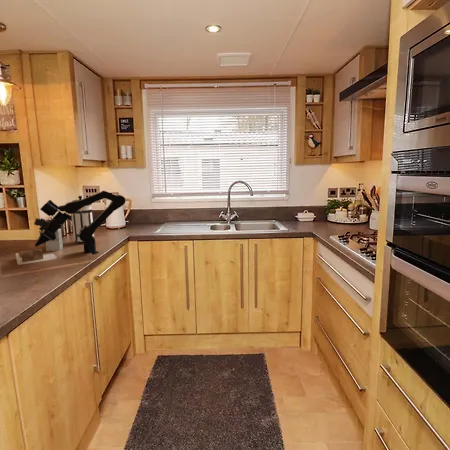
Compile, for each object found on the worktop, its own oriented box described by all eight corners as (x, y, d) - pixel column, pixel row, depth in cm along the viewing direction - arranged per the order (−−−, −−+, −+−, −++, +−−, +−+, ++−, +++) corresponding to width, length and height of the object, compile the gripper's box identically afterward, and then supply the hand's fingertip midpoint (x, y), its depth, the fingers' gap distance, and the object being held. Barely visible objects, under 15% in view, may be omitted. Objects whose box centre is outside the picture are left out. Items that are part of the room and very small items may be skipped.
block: (41, 248, 166) (20, 251, 161) (42, 250, 163) (21, 253, 158) (42, 257, 167) (21, 260, 162) (43, 258, 164) (22, 262, 158)
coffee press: (65, 244, 202) (59, 196, 197) (86, 238, 216) (82, 194, 211) (83, 246, 194) (78, 196, 189) (104, 241, 208) (100, 194, 203)
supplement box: (46, 253, 179) (43, 231, 177) (49, 250, 186) (47, 229, 184) (60, 252, 181) (58, 230, 179) (63, 249, 188) (61, 228, 186)
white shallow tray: (53, 255, 174) (52, 248, 173) (57, 260, 164) (56, 252, 163) (16, 261, 164) (15, 253, 164) (18, 267, 154) (17, 258, 153)
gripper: (41, 210, 170) (19, 233, 166) (45, 214, 155) (22, 239, 151) (59, 223, 176) (38, 246, 172) (65, 228, 161) (43, 253, 157)
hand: (35, 245), depth 163 cm, fingers closed
